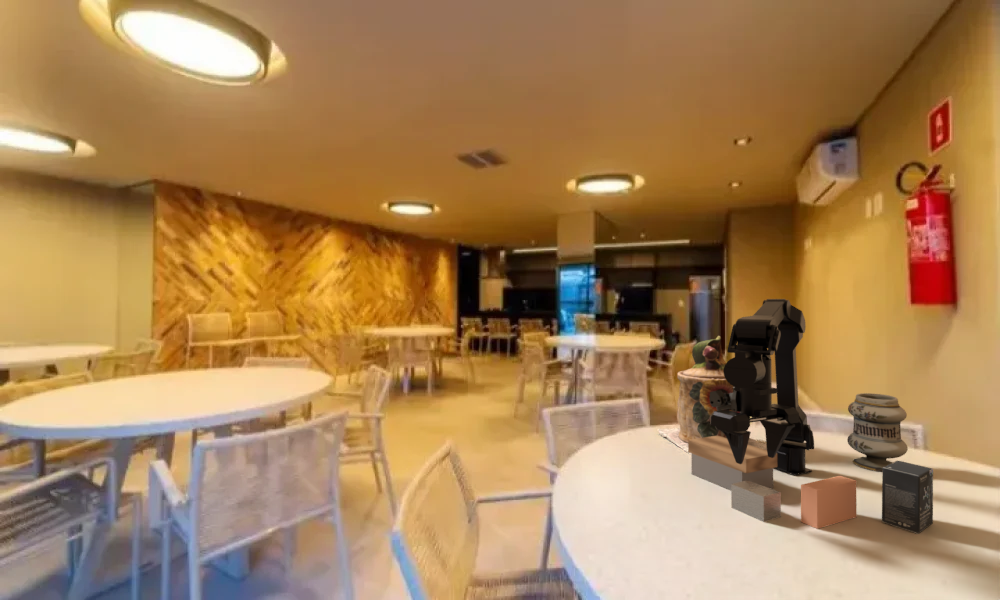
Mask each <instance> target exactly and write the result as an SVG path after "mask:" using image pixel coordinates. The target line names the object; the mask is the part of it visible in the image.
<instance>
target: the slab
mask: <svg viewBox="0 0 1000 600" xmlns="http://www.w3.org/2000/svg"><path fill="white" fill-rule="evenodd" d="M688 452H689V453H692V454H695V455H697V456H700V457H703V458H706V459H708V460H711V461H714V462H716V463H719V464H722V465H725V466H727V467H730V468H733V469H736V470H738V471H741V472H744V473H750V472H755V471H760V470H765V469H770V468H773V469H775V467H777V453H776V455H775V457H774V458H771V457H768V454H767V450H764V449H761V448H758V447H754V446H751V445H747V449H746V453H745V457H744V460H743V463H742V464H738V463H736V461H735V458H734V455H733V453H732V450H731V447H730V444H729V442H728V440H727V438H724V437H721V436H711V437H704V438H698V439H691V440H688ZM689 453H688V454H689Z"/></svg>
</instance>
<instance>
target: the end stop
mask: <svg viewBox="0 0 1000 600" xmlns="http://www.w3.org/2000/svg"><path fill="white" fill-rule="evenodd" d="M854 518H857V480H855V479H852V478H848V477H846V476H842V475H837V476H833V477H828V478H825V479H820V480H816V481H811V482H808V483H803V484H800V522H801V523H803V524H805V525H808V526H810V527H812V528H813V529H818V530H819V529H821V528H824V527H828V526H832V525H834V524H838V523H841V522H844V521H849V520H850V519H851V520H852V519H854Z"/></svg>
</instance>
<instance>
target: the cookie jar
mask: <svg viewBox="0 0 1000 600" xmlns="http://www.w3.org/2000/svg"><path fill="white" fill-rule="evenodd" d="M721 340H722V337H721V336H720V335H717V337H716V338H714V339H713V338H712V339H706V340H702V341H699V342H697V343H695V345H693V346H692V351H691V353H692V358H693V361H694V365H693V366H692V367H691V368H688V369H685V370H681V371H678V372H677V374H676V375H677V380H678V381H679V389H678V395H679V396H678V399H677V416H676V417H677V418H676V419H677V423H678V425H679V428H676V427H675V428H657V432H658V433H659V435H660V436H662V437H663V438H666V439H667V440H668V441H669V442H671V443H673V444H674V445H675V446H677V447H679V448H680V449H682V450H683V451H684V452H686V453H687V452H688V440H691V439H698V438H704V437H711V436H721V437H724V438H726V436H725V434H724V433H723V432H722V431H721V430H717V429H716V427H715V426H712V425H711V424H710V415H711V414H712V413H713V412H714V411H717V408H716V407H712V406H711V404H710V392H712V391H719V390H721V391H722V392H723V393H724V394H729V393H733V387H734V386H732V385H731V384H730V383H728V382H727V380H726V379H725V376H724V372H723V370H724V367H725V364H726V363H727V362H726V360H725V359H724V356H723V355H724V354H723V349H722V345H721V342H720V341H721ZM729 411H731V410H729ZM733 412H735V411H733ZM738 413H740V412H738ZM748 445H751V446H754V447H758V448H761V449H764V450H767V446H766V443H763V442H760V441H756V440H755V439H753V438H751V437H749V441H748ZM687 454H689V452H688V453H687ZM689 455H691V456H692V453H690V454H689Z"/></svg>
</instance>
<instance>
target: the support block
mask: <svg viewBox="0 0 1000 600" xmlns="http://www.w3.org/2000/svg"><path fill="white" fill-rule="evenodd" d="M730 491H731V494H730V495H731V498H730V499H731V501H730V502H731V503H730V504H731V505H730V506H731V508H732V509H733V510H735V511H738V512H740V513H742V514H745V515H747V516H749V517H752V518H753V519H756V520H758V521H761V522H762V523H765V522H768V521H772V520H775V519H778V518H781V516H782V515H781V513H782V512H781V511H782V508H781V507H782V506H781V502H782V501H781V499H782V498H781V496H782V495H781V491H778V490H776V489H774V488H771V489H770V488H768V487H765V486H762V485H759V484H757V483H754V482H751V481H749V480H747V481H743V482H738V483H734V484H731V490H730Z"/></svg>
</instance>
